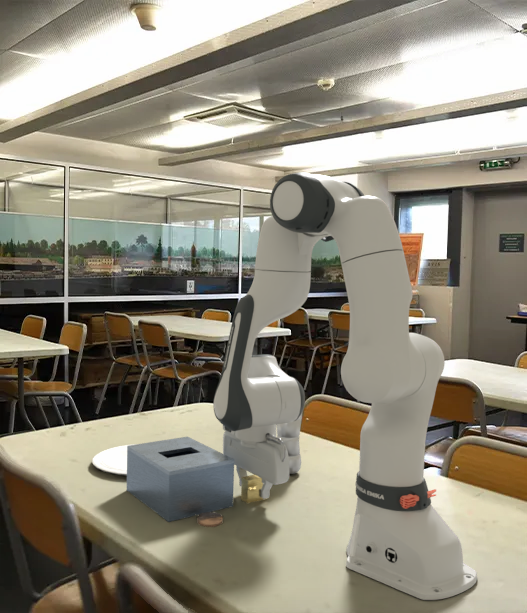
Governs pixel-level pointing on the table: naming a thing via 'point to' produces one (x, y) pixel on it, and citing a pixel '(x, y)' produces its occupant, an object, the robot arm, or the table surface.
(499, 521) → the table surface
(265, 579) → the table surface
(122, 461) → the plate
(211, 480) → the coin box
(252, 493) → the brushed brass bar
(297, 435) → the plastic bottle
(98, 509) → the table surface
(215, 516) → the copper token
